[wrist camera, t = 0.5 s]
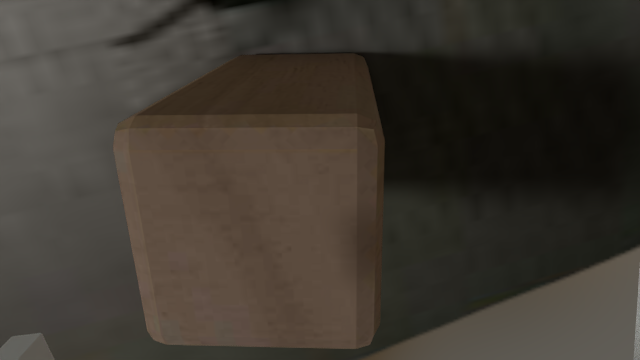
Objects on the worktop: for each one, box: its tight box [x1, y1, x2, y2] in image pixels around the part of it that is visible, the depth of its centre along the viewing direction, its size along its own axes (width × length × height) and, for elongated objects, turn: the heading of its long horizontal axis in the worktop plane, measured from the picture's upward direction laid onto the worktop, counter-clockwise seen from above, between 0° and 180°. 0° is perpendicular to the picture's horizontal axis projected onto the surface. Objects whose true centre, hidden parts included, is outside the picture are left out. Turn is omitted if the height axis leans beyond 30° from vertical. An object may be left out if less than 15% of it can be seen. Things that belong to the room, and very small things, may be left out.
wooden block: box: [113, 53, 385, 349], centre depth 27 cm, size 10×10×20 cm
